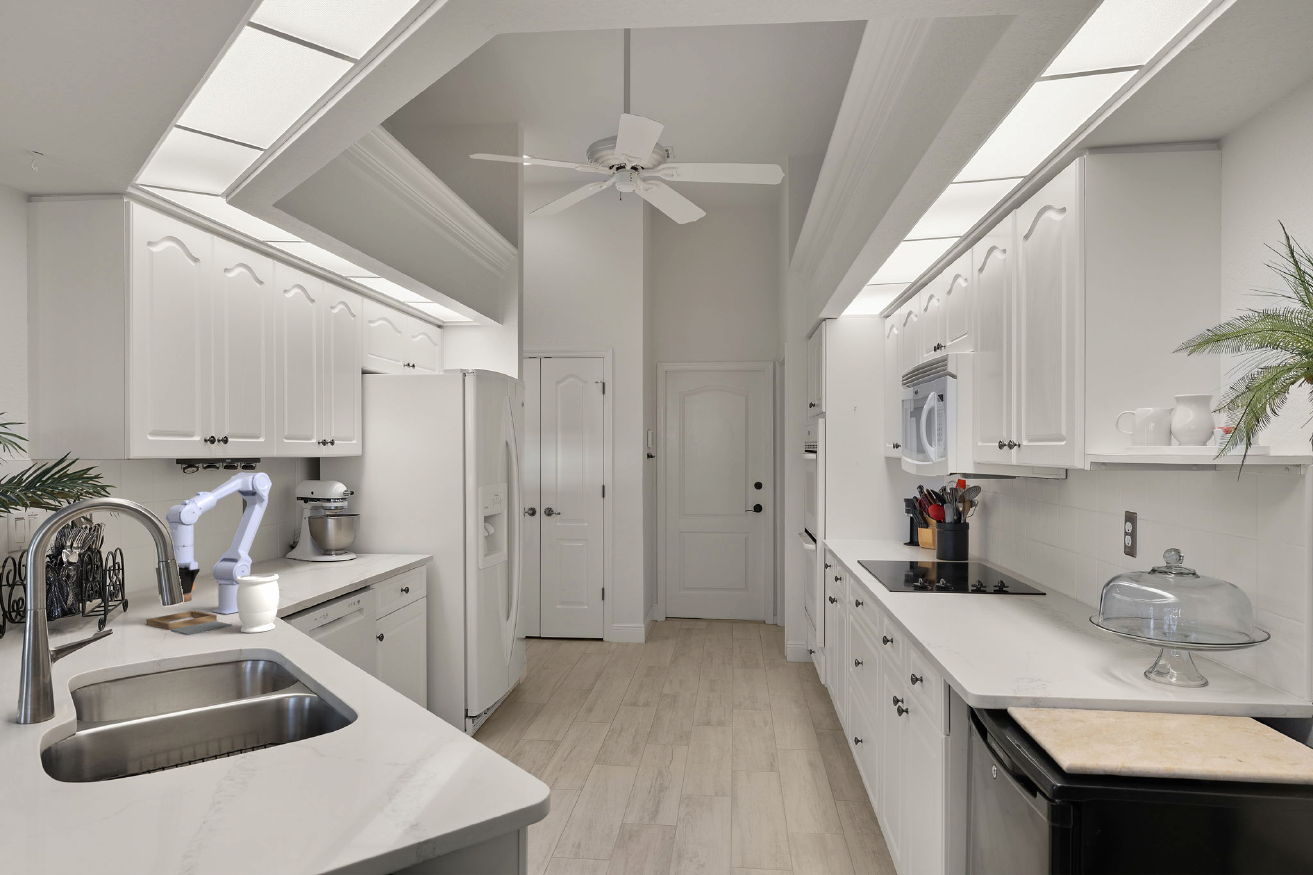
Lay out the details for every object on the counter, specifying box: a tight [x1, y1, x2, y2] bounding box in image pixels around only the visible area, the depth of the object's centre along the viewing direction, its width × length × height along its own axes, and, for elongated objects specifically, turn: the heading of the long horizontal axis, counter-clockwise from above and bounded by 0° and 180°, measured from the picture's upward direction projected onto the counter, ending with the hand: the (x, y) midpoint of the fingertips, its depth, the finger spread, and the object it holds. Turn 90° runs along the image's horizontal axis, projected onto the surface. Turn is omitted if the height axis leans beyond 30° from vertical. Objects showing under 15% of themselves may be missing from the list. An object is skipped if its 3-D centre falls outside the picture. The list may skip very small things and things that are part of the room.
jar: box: [237, 573, 280, 634], centre depth 206 cm, size 11×10×15 cm
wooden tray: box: [145, 610, 218, 631], centre depth 216 cm, size 13×13×2 cm
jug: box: [183, 581, 196, 603], centre depth 217 cm, size 6×5×7 cm
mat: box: [170, 620, 233, 636], centre depth 209 cm, size 12×9×1 cm
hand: (182, 592), depth 217 cm, fingers closed on jug, 5 cm apart
